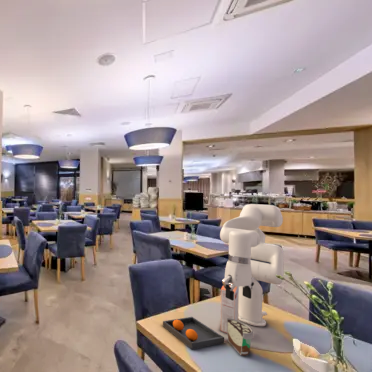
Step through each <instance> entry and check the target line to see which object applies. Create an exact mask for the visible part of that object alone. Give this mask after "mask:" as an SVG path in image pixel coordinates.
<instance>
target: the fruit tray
mask: <svg viewBox="0 0 372 372" xmlns="http://www.w3.org/2000/svg"><path fill="white" fill-rule="evenodd" d="M174 320H180V321H181V322H182V323H183V325H184V328H183V330H181V331H179V330H176V329H175V328H174V326H173V321H174ZM162 327H163V328H164V329H166V331H168V332H169V333H171V334H172V335H173V336H174V337H176V339H178V340H179V341H180V342H182V343H183V344H184V345H185V346H187V347H188V348H189V349H191V350H195V349H201V348H205V347H212V346H217V345H221V344H225V337H224V336H223V335H222V334H220V333H218V332H217V331H215V330H213V329H212V328H211V327H209V326H207V325H206V324H204V323H203V322H201V321H200V320H198V319H196V318H195V317H193V316H187V317H183V318H182V317H180V318H174V319H168V320H167V319H166V320H163V321H162ZM188 329H193V330H194V331H195V332H196V333H197V335H198V338H197V340H196V341H191V340H189V339H188V338H187V336H186V331H187V330H188Z"/></svg>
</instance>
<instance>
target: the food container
mask: <svg viewBox="0 0 372 372" xmlns="http://www.w3.org/2000/svg"><path fill="white" fill-rule="evenodd" d="M226 322H227V329H228V333H227V342H228V343H229V344H230V345H231V346H232V347H233V348H234V350H235V351H237V353H238V354H239V355H240V356H241V357H246V356H249V355H250V351H251V350H250V349H251V343H252V339H254V337H255V336H254V332H253V331H254V330H252V328H251V327H250V326H249V324H247V323H244V322H242V321H240V320H239V319H238V320H235V319H231V318H227V321H226Z"/></svg>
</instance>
